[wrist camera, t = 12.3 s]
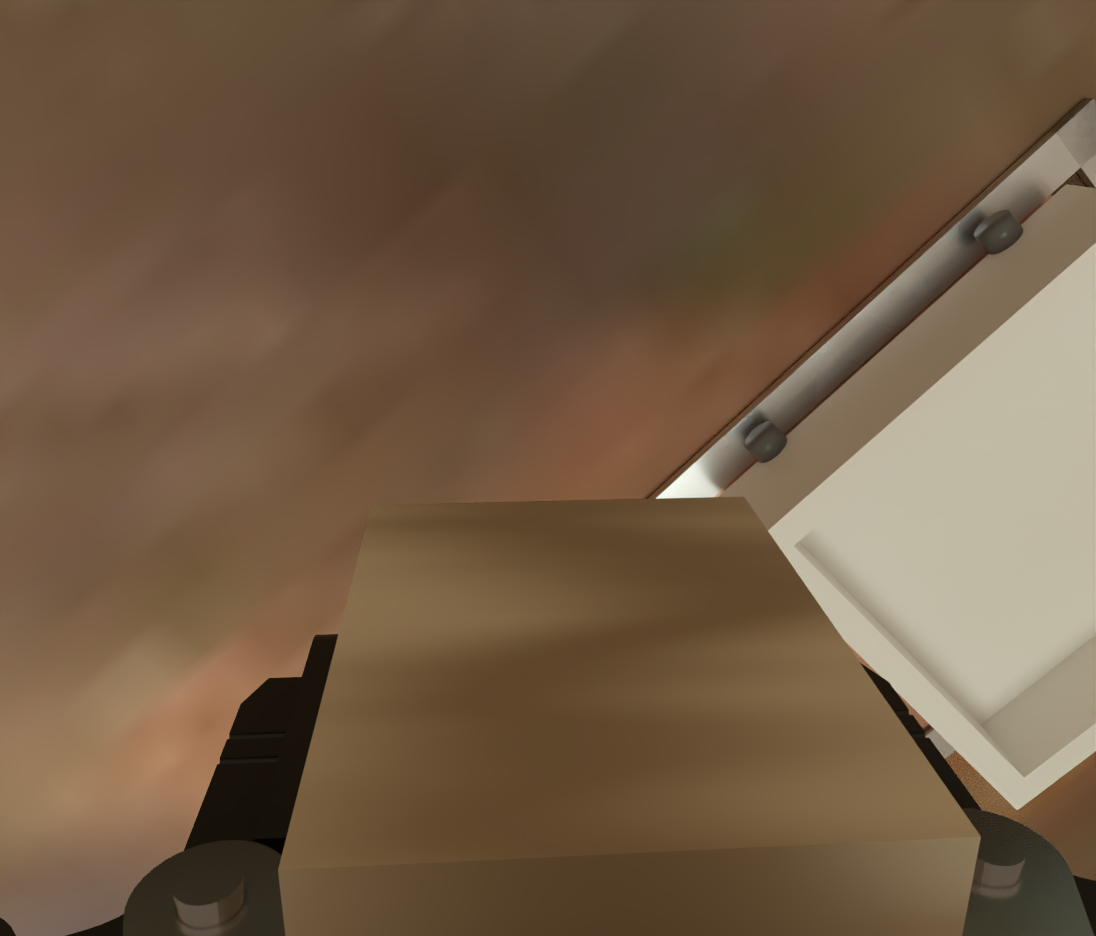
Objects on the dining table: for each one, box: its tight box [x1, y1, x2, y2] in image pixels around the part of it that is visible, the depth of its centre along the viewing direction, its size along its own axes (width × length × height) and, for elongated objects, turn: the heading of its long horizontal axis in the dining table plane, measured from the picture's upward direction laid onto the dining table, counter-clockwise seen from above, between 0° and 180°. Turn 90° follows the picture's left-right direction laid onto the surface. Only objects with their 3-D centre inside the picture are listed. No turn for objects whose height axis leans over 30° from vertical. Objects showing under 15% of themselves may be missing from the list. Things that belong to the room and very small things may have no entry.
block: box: [278, 497, 981, 936], centre depth 10 cm, size 4×4×6 cm
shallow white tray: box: [719, 184, 1096, 810], centre depth 27 cm, size 12×13×4 cm
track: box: [647, 98, 1096, 759], centre depth 30 cm, size 25×14×1 cm, turn 134°
